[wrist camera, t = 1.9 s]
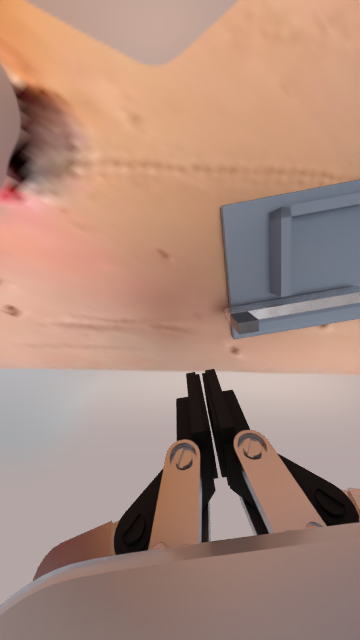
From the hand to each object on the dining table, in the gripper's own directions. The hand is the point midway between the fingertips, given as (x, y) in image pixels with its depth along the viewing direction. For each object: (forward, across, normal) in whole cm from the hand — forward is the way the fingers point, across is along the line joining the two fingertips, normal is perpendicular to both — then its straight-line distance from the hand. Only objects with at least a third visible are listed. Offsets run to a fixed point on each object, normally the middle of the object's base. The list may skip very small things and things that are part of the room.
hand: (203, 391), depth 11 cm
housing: (+15, -17, -4) cm, 23 cm away
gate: (+13, -13, 0) cm, 18 cm away
